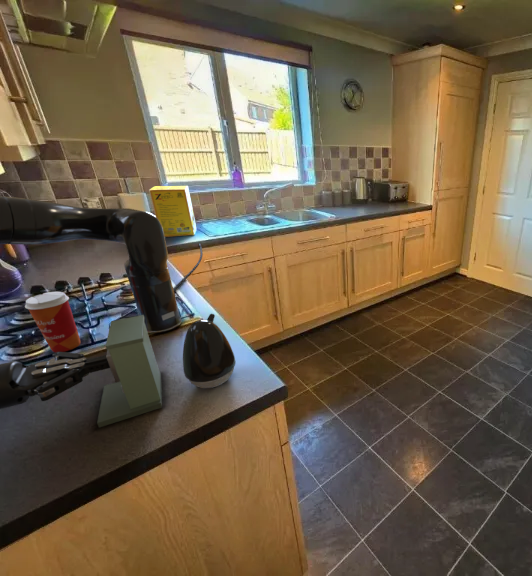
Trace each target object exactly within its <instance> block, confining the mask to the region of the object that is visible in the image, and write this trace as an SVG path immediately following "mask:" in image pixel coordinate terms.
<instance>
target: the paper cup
mask: <svg viewBox="0 0 532 576" xmlns="http://www.w3.org/2000/svg"><path fill="white" fill-rule="evenodd" d="M69 300H70V297H69V296H68V295H67V294H66V293H65V292H63V291H49V292H43V293H42V294H41V293H40V294H36V295H35V296H30V297H29V298H27V299H26V300H25V305H24V308H25V309H27V310H28V312H29V313H30V315H31V317H32V319H33V320H34V322H35V324H36V326H37V328H38V329H39V331H40V333H41V335H42V336H43V338H44V340H45V342H46V343H47V345H48V347H49V348H50V350H51V352H52V353H55V352H69V351H71V350H74V349H76V348H78V347H79V346H80V345H81V338H80V335H79V330H78V328H77V325H76V322H75V319H74V315H73V311H72V309H71V306H70V302H69Z"/></svg>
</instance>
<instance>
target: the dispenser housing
mask: <svg viewBox="0 0 532 576" xmlns="http://www.w3.org/2000/svg"><path fill="white" fill-rule="evenodd" d="M105 349H106V351H107V350H109V352H110V355H111V358H112V360H113V363H114V366H115V368H116V371H117V374H118V377H119V379H120V382H117V383H116V382H112V383H108V384H105V385H103V390H102V396H101V400H100V404H99V409H98V416H97V421H96V422H97V423H96V424H97V426H98V428H103V427H106V426H109V425H112V424H115V423H118V422H121V421H124V420H127V419H131V418H134V417H137V416H140V415H143V414H147V413H149V412H154V411H155V410H159V409H162V408H163V392H162V391H163V390H162V374H161V370H160V368H159V366H158V362H157V359H156V356H155V353H154V349H153V346H152V342H151V339H150V337H149V333H148V332H147V329H146V326H145V322H144V315H140V316H139V315H135V316H130V317H126V318H120V319H115V320H111V321H110V325H109V329H108V333H107V338H106V343H105Z"/></svg>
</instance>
